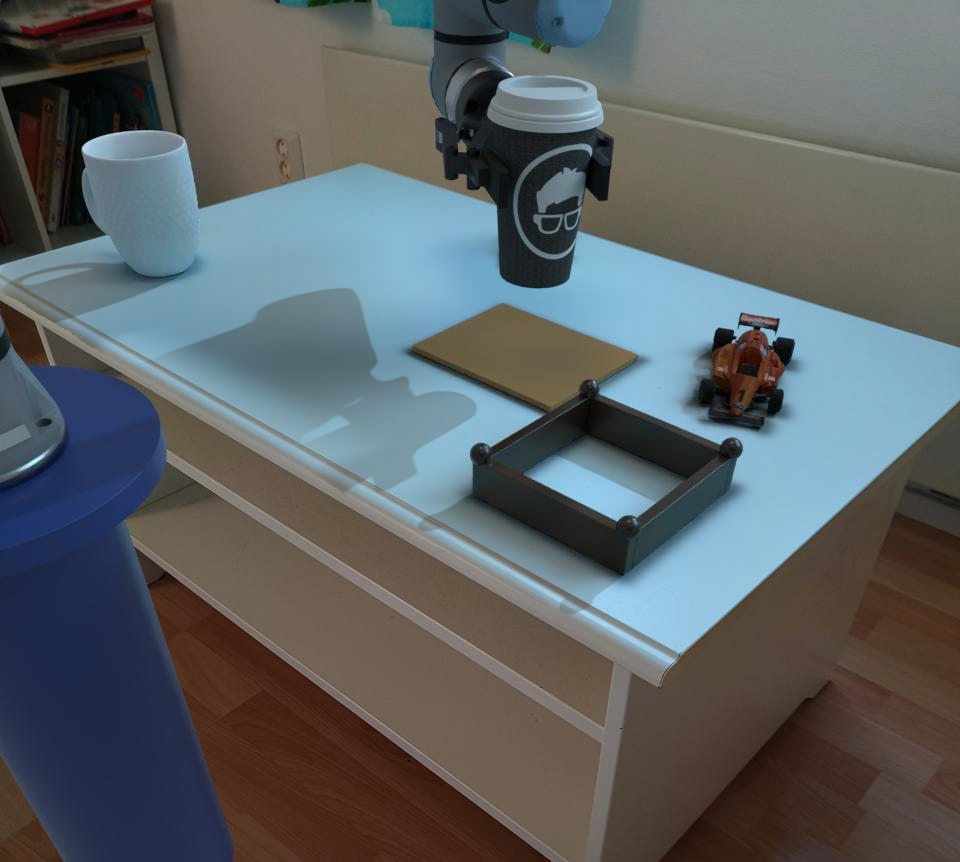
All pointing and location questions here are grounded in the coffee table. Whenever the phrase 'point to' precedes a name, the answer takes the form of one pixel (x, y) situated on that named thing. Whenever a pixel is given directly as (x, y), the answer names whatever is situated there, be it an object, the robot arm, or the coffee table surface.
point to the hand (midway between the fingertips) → (554, 186)
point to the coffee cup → (542, 173)
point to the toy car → (747, 369)
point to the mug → (144, 198)
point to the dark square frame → (581, 524)
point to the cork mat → (525, 355)
